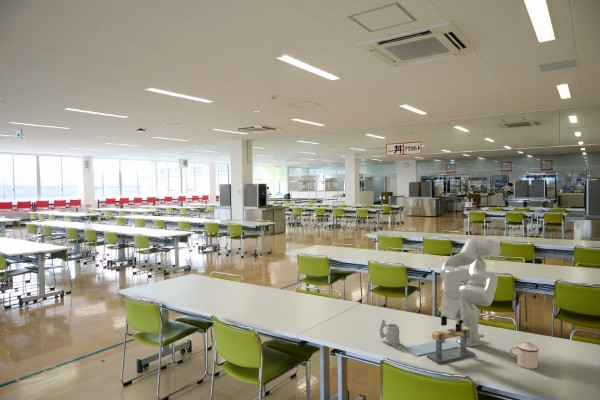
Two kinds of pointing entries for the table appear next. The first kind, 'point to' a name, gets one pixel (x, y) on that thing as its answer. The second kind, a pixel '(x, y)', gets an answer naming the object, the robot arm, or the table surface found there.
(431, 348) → the slate mat
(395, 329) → the mug
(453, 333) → the oak rail
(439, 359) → the stand
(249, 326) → the table surface
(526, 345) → the teacup with lid
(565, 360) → the table surface
